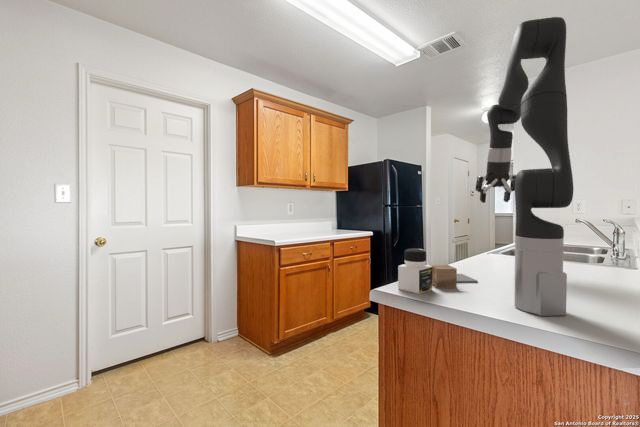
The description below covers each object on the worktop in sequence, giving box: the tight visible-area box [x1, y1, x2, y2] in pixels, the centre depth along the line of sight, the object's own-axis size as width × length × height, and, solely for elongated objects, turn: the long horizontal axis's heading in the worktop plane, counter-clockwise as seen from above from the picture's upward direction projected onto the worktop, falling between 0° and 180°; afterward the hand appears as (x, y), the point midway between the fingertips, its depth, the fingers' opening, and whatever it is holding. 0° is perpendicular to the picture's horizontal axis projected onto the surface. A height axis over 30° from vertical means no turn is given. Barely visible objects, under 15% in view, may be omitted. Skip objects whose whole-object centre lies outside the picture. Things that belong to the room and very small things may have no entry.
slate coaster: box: [457, 273, 479, 284], centre depth 101 cm, size 10×10×1 cm
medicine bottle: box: [397, 248, 433, 295], centre depth 88 cm, size 7×7×12 cm
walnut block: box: [429, 264, 458, 289], centre depth 92 cm, size 6×6×6 cm
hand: (494, 201), depth 117 cm, fingers open, 8 cm apart
